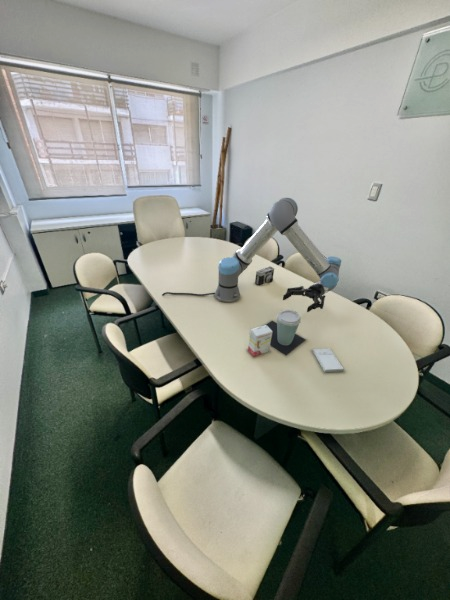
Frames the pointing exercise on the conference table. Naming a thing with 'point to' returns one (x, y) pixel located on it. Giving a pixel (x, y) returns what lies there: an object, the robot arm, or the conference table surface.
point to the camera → (264, 276)
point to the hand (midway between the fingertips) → (295, 303)
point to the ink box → (260, 340)
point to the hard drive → (328, 360)
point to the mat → (282, 348)
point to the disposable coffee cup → (287, 326)
